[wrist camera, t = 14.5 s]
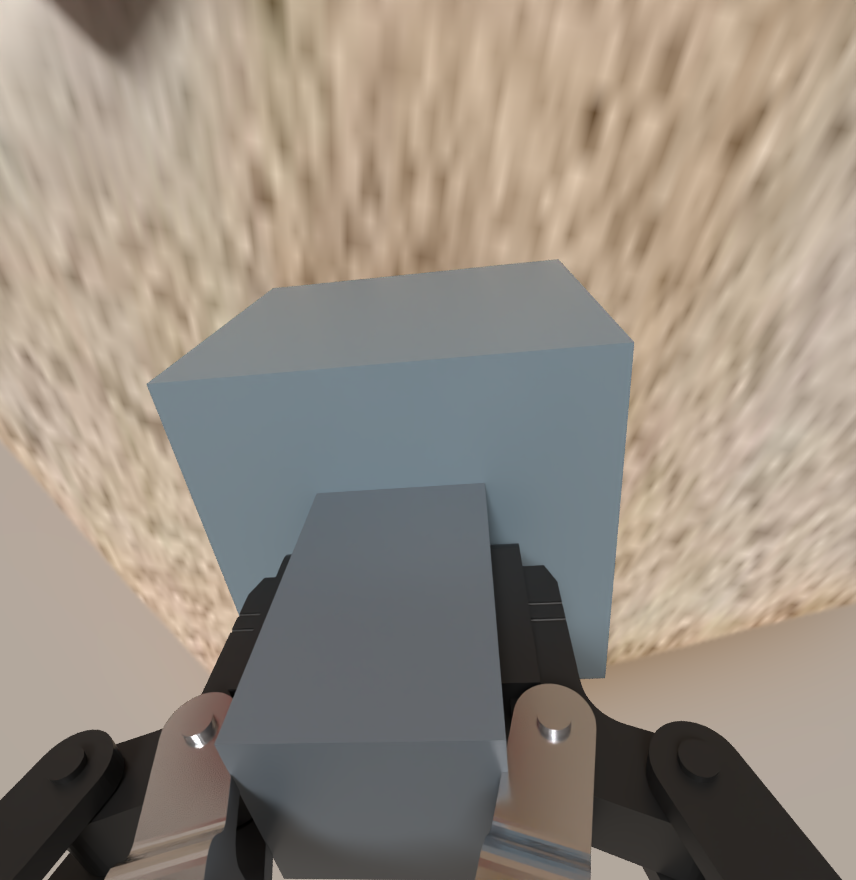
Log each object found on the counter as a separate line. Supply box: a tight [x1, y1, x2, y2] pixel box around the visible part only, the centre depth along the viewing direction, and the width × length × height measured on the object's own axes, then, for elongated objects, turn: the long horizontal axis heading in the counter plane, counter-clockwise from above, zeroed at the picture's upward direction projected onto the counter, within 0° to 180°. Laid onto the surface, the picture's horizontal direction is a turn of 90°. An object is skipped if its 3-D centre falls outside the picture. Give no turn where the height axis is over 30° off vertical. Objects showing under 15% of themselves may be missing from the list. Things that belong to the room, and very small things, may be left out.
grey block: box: [147, 259, 634, 880], centre depth 14 cm, size 10×10×15 cm
